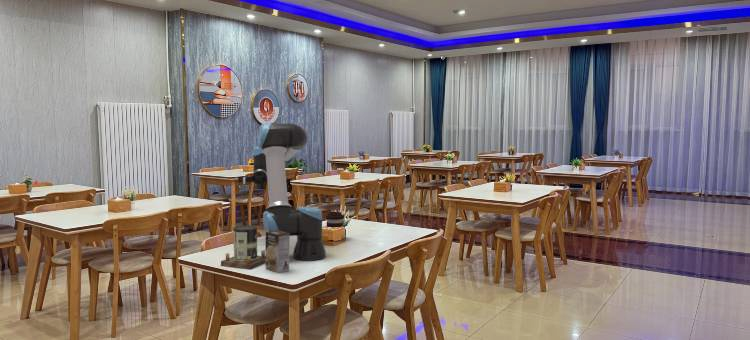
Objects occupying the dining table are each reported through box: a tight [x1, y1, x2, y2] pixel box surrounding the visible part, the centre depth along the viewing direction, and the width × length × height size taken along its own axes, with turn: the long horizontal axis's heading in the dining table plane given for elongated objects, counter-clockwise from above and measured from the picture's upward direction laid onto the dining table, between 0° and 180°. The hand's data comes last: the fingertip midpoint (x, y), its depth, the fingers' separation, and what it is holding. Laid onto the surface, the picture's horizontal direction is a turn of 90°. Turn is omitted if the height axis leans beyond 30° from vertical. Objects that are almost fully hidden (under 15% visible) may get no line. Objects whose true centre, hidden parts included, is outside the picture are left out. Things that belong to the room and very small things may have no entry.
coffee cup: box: [325, 211, 345, 228], centre depth 284 cm, size 10×10×15 cm
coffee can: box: [232, 225, 258, 262], centre depth 233 cm, size 10×10×14 cm
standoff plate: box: [220, 250, 266, 270], centre depth 234 cm, size 15×15×5 cm
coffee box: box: [265, 230, 290, 274], centre depth 224 cm, size 9×6×16 cm
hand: (258, 181), depth 257 cm, fingers open, 13 cm apart
